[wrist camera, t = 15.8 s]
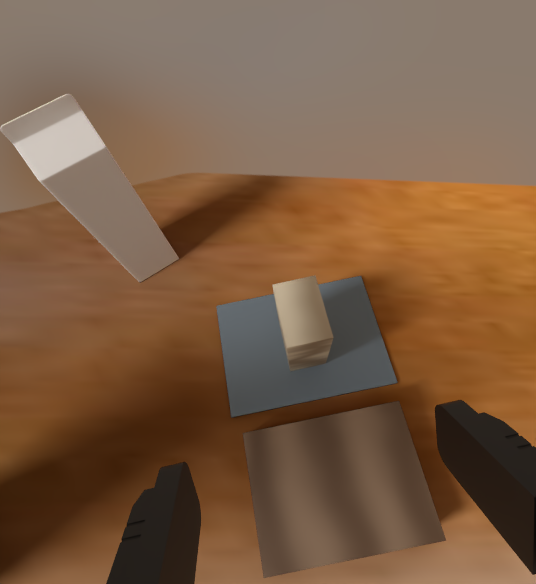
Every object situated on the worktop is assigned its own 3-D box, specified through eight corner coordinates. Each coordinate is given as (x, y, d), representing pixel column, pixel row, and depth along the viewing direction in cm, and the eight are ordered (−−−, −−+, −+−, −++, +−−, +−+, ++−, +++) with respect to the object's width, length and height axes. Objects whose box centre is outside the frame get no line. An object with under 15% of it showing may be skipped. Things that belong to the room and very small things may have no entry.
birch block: (290, 371, 38) (286, 347, 29) (278, 321, 40) (272, 284, 31) (325, 363, 38) (333, 337, 29) (312, 313, 40) (315, 275, 31)
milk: (122, 252, 47) (-14, 106, 27) (160, 229, 48) (57, 72, 28) (140, 284, 44) (6, 150, 24) (180, 259, 45) (83, 111, 25)
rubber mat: (231, 417, 37) (231, 417, 36) (217, 307, 42) (216, 306, 42) (396, 383, 37) (397, 382, 36) (360, 277, 42) (361, 275, 42)
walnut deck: (268, 562, 31) (263, 578, 28) (248, 434, 36) (242, 433, 32) (429, 529, 31) (446, 540, 28) (389, 405, 36) (399, 400, 32)
